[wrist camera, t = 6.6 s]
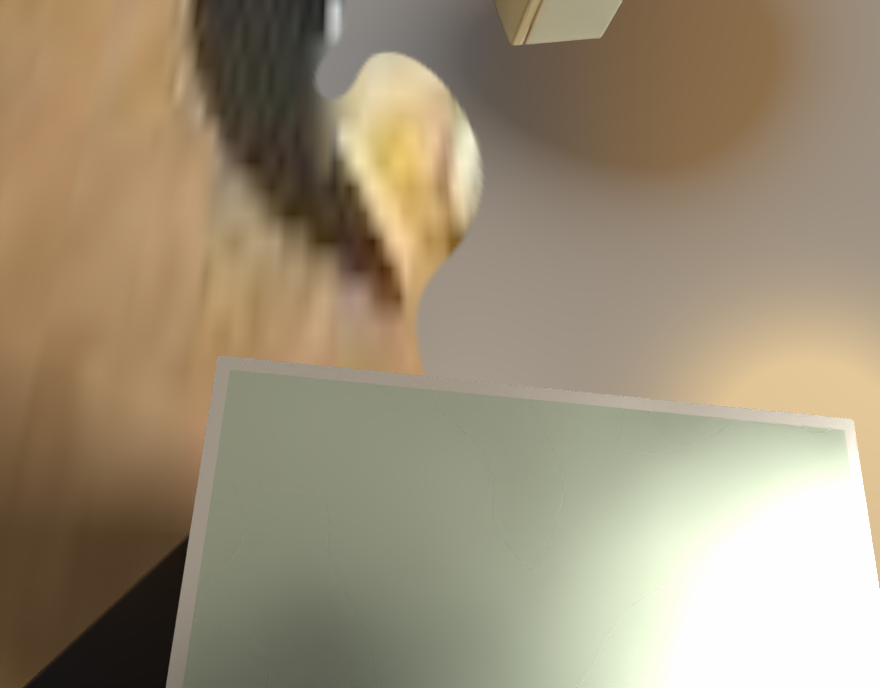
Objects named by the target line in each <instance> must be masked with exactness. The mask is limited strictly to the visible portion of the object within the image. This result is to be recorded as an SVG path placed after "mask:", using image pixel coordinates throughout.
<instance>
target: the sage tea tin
mask: <svg viewBox="0 0 880 688" xmlns="http://www.w3.org/2000/svg"><path fill="white" fill-rule="evenodd" d="M166 688H880V593H879V586H878V580H877V573H876V566H875V560H874V554H873V546H872V540H871V533H870V527H869V520H868V514H867V507H866V500H865V494H864V487H863V481H862V474H861V468H860V461H859V454H858V448H857V441H856V435H855V428H854V421H853V419H845V418H835V417H825V416H815V415H805V414H796V413H795V414H794V413H786V412H775V411H766V410H756V409H746V408H736V407H725V406H716V405H706V404H695V403H686V402H677V401H666V400H657V399H647V398H637V397H626V396H617V395H607V394H597V393H587V392H578V391H566V390H558V389H548V388H547V389H546V388H538V387H527V386H517V385H508V384H498V383H488V382H478V381H469V380H459V379H449V378H439V377H429V376H419V375H409V374H399V373H389V372H379V371H370V370H360V369H350V368H340V367H330V366H320V365H310V364H300V363H290V362H280V361H270V360H261V359H251V358H241V357H231V356H221V355H218V357H217V363H216V369H215V376H214V382H213V389H212V395H211V401H210V408H209V414H208V420H207V427H206V433H205V440H204V446H203V452H202V459H201V465H200V472H199V478H198V484H197V491H196V497H195V503H194V510H193V516H192V523H191V529H190V535H189V542H188V548H187V555H186V561H185V567H184V574H183V580H182V586H181V593H180V599H179V606H178V612H177V618H176V625H175V631H174V638H173V644H172V650H171V657H170V663H169V669H168V676H167V682H166Z"/></svg>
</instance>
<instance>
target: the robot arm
mask: <svg viewBox="0 0 880 688" xmlns="http://www.w3.org/2000/svg"><path fill="white" fill-rule="evenodd" d="M189 535H190V533H189V534H188V535H187V536H186V537H185V538H184V539H182V540H181V541H180V542H179V543H178V544H177V545H176V546H175V547H174V548H173V549H172V550H171V551H170V552H168V553H167V554H166V555H165V556H164V557H163V558H162V559H161V560H160V561H159V562H158V563H157V564H155V565H154V566H153V567H152V568H151V569H150V570H149V571H148V572H147V573H146V574H145V575H144V576H143V577H141V578H140V579H139V580H138V581H137V582H136V583H135V584H134V585H133V586H132V587H131V588H130V589H128V590H127V591H126V592H125V593H124V594H123V595H122V596H121V597H120V598H119V599H118V600H117V601H116V602H114V603H113V604H112V605H111V606H110V607H109V608H108V609H107V610H106V611H105V612H104V613H103V614H101V615H100V616H99V617H98V618H97V619H96V620H95V621H94V622H93V623H92V624H91V625H90V626H89V627H87V628H86V629H85V630H84V631H83V632H82V633H81V634H80V635H79V636H78V637H77V638H76V639H74V640H73V641H72V642H71V643H70V644H69V645H68V646H67V647H66V648H65V649H64V650H63V651H62V652H60V653H59V654H58V655H57V656H56V657H55V658H54V659H53V660H52V661H51V662H50V663H49V664H47V665H46V666H45V667H44V668H43V669H42V670H41V671H40V672H39V673H38V674H37V675H36V676H35V677H33V678H32V679H31V680H30V681H29V682H28V683H27V684H26V685H25V686H24V687H23V688H166V682H167V676H168V669H169V663H170V657H171V650H172V644H173V638H174V631H175V625H176V618H177V612H178V606H179V599H180V593H181V586H182V580H183V574H184V567H185V561H186V555H187V548H188V542H189Z"/></svg>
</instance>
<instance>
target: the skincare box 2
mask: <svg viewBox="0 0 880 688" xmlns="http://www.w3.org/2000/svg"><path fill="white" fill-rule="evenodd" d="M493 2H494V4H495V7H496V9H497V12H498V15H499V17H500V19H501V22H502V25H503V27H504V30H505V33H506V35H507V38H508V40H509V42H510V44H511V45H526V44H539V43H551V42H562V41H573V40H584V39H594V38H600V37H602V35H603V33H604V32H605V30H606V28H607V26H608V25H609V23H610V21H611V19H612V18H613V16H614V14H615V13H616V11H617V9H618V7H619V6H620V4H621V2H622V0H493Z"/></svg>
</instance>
